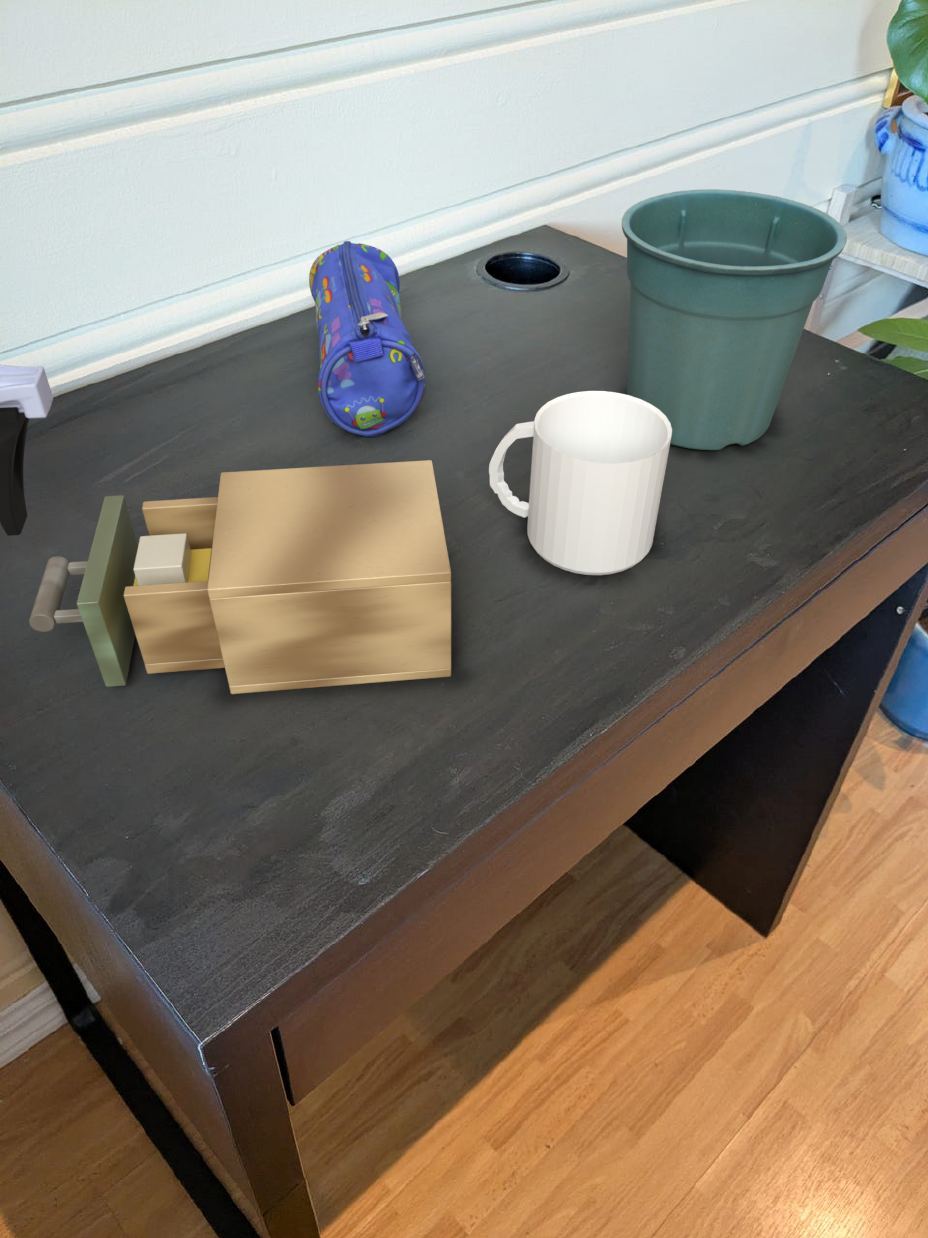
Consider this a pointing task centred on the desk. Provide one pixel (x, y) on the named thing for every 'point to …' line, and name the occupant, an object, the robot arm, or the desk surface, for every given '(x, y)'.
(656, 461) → the mug
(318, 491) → the cabinet
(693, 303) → the flower pot
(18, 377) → the robot arm
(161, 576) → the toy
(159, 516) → the drawer
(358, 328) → the pencil case
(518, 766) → the desk surface
